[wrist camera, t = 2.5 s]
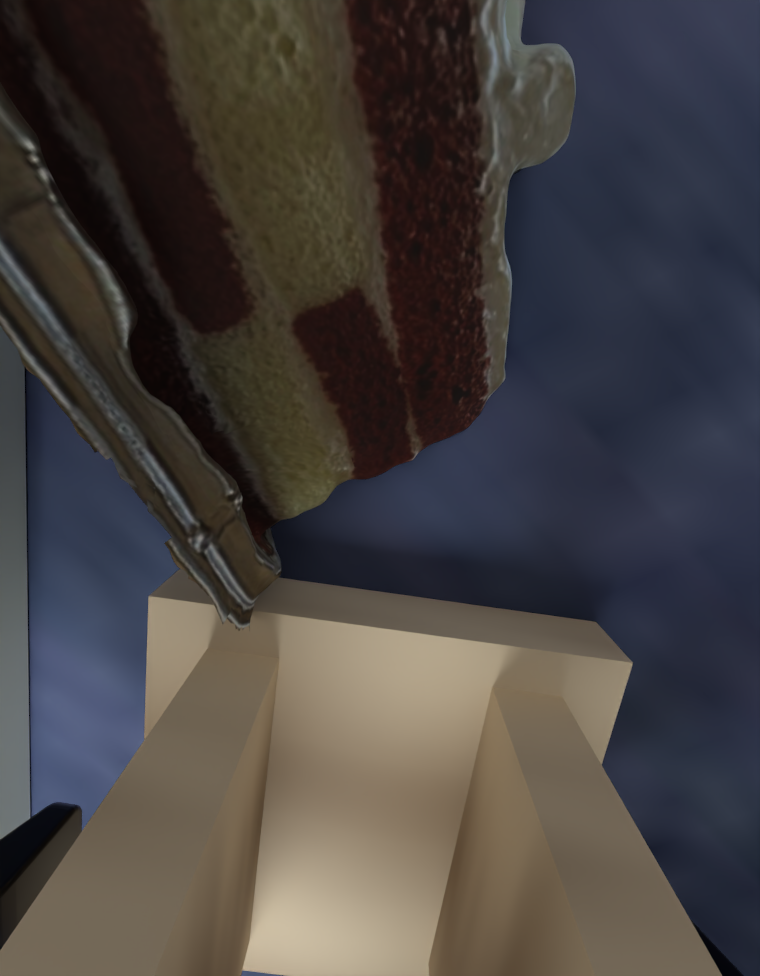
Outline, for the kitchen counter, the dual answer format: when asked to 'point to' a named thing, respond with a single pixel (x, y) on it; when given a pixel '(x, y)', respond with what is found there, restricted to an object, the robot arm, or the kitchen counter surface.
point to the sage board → (13, 595)
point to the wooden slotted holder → (364, 803)
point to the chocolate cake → (264, 241)
